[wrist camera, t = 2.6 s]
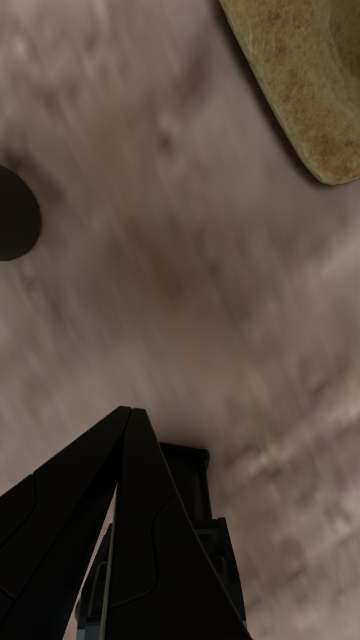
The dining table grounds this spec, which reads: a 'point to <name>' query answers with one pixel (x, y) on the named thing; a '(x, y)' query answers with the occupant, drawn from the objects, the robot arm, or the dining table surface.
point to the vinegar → (16, 216)
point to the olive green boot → (307, 75)
